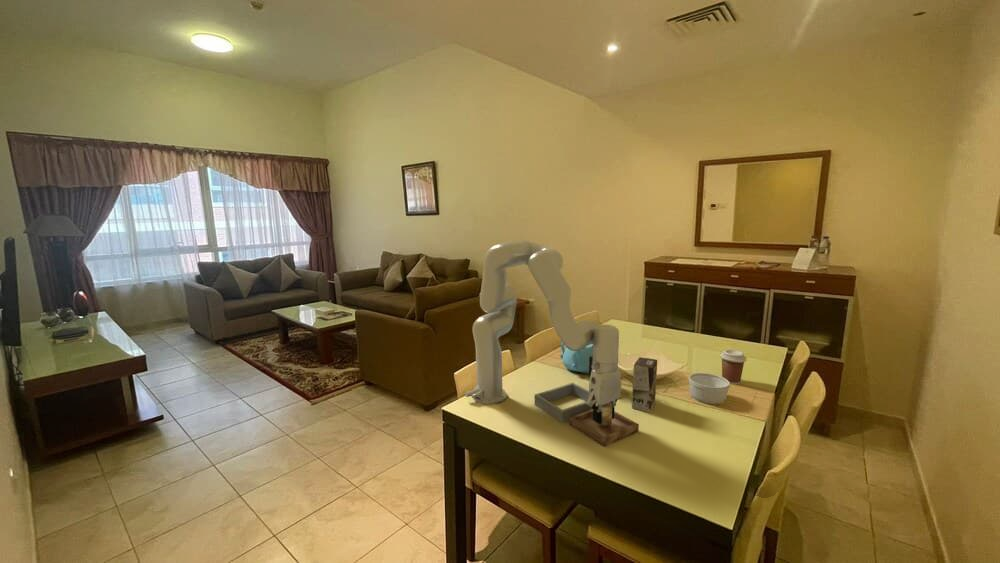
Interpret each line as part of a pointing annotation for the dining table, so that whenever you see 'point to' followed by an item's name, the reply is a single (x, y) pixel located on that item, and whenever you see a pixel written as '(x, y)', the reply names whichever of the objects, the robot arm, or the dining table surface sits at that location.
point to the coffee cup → (732, 365)
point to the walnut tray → (604, 427)
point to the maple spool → (606, 414)
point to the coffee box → (644, 384)
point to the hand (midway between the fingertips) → (603, 418)
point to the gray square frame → (545, 397)
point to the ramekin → (708, 388)
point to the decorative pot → (577, 358)
